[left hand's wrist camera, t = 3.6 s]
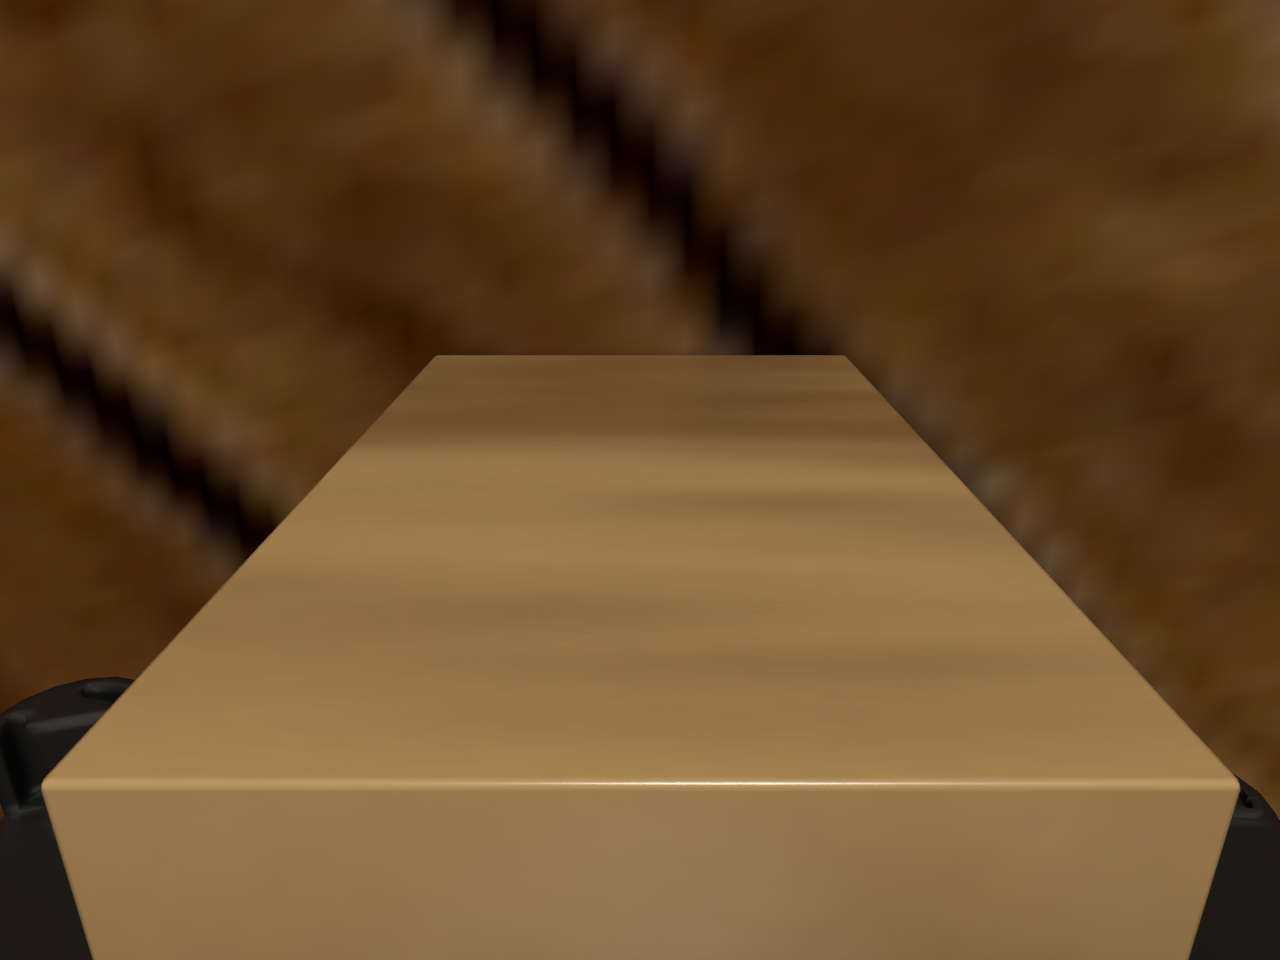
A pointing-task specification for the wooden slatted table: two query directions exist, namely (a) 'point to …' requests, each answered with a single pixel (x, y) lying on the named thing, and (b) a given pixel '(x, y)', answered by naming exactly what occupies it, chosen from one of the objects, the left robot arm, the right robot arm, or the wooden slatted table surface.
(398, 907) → the box
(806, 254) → the wooden slatted table surface
